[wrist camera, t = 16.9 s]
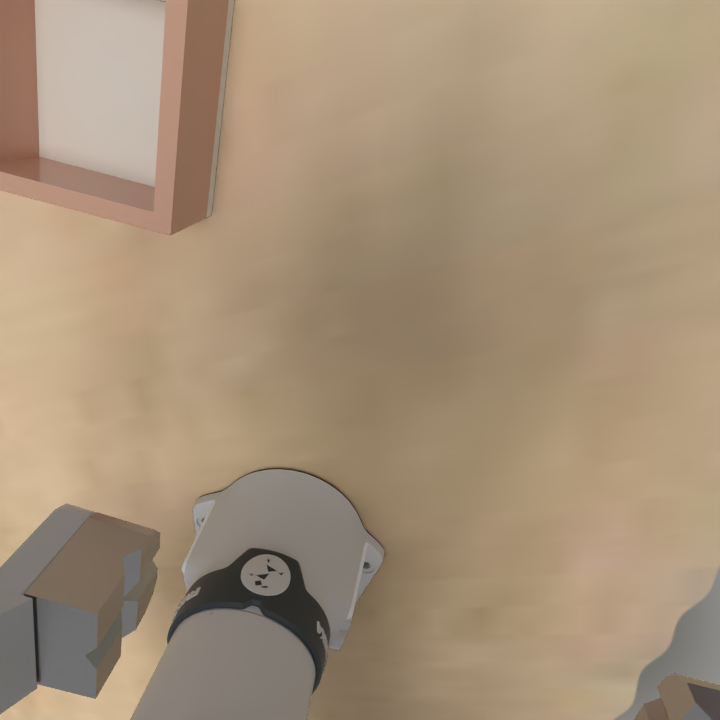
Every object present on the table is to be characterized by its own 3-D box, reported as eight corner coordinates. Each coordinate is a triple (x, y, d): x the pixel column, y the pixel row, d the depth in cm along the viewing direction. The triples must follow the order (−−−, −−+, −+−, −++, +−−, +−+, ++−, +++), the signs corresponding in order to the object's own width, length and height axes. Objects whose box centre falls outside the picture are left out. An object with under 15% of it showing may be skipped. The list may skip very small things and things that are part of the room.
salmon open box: (211, 215, 41) (170, 235, 35) (33, 167, 42) (-39, 179, 35) (234, -2, 35) (189, -24, 29) (25, -55, 36) (-64, -89, 29)
